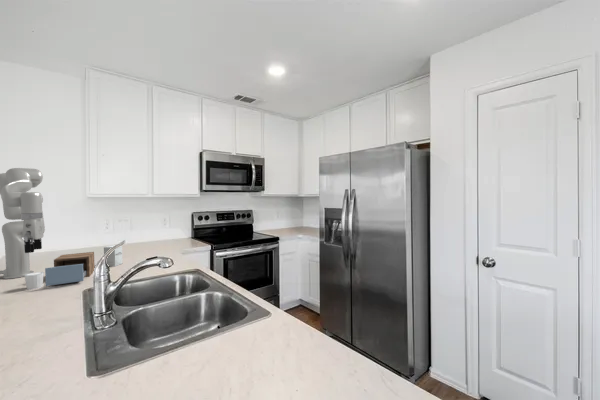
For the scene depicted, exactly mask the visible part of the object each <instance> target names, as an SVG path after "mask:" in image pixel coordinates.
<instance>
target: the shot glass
mask: <svg viewBox="0 0 600 400" xmlns="http://www.w3.org/2000/svg"><path fill="white" fill-rule="evenodd" d="M44 275H45V272H43V271H36V272H34V273H30V274H26V275H24V280H25V286H26V290H34V289H35V290H36V289H39V288H42V287H44V286H43V285H44Z"/></svg>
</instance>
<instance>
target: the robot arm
mask: <svg viewBox="0 0 600 400" xmlns="http://www.w3.org/2000/svg"><path fill="white" fill-rule="evenodd" d="M43 177H44V176H43V174H42V172H41V171H40V169H37V168H28V167H27V168H25V167H24V168H23V167H12V168H9V169H8V170H6V172H5V173H4V172H2V173H0V198H1V202H2V208H3V216H4V218H5V219H7V220H12V221H9V222H5V223H4V224H3V225H2V226H1V232H2V237H3V240H4V241H3V242H4V251H5V252H4V253H5V269H3V270H0V275H2V276H1V278H2V279H4V280H6V279H7V280H8V279H9V280H10V279H17V278H25V276H24V275H26V274H30V273H35V272H34V270H31V268H30V267H31V266H30V264H31V263H30V253H34V252H35V251H36V250H41V249H42V248H43V245H42V238H44V233H45V231H46V229H45V227H46V226H45V221H44V213H43V201H44V198H43V195H42V194H41V192H38V191H36V192H35V191H34V192H33V191H31V189H35V188H36V187H38V186H39V185H40V184H41V183H42V182H43V179H44V178H43ZM14 220H15V221H14ZM16 220H17V221H16Z"/></svg>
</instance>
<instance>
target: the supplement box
mask: <svg viewBox="0 0 600 400" xmlns="http://www.w3.org/2000/svg"><path fill="white" fill-rule="evenodd" d="M115 245H116V244H115ZM115 245H107V246H105V247H103V255H104V254H105V253H106V252H107V251H108V250H109V249H110V248H112V247H113V246H115ZM107 264H108V265H109V266H110V267H112V268H114V267H117V266H121V265H122V264H123V245H122V246H120V247H118V248H116V249H115V250H114V251H113V252H112V253H111V254H110V255H109V256H108V258H107Z"/></svg>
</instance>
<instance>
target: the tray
mask: <svg viewBox="0 0 600 400" xmlns="http://www.w3.org/2000/svg"><path fill="white" fill-rule="evenodd" d="M44 271H45V272H44V275H45V286H46V287H48V286H55V285H62V284H63V285H64V284H70V283H71V284H72V283H76V282H83V281H84V278H86V277H85V276H86V274H87V272H86V270H85V271H83V264H77V265H68V266H59V267H54V266H53V267H52V266H51V267H45V269H44Z"/></svg>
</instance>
